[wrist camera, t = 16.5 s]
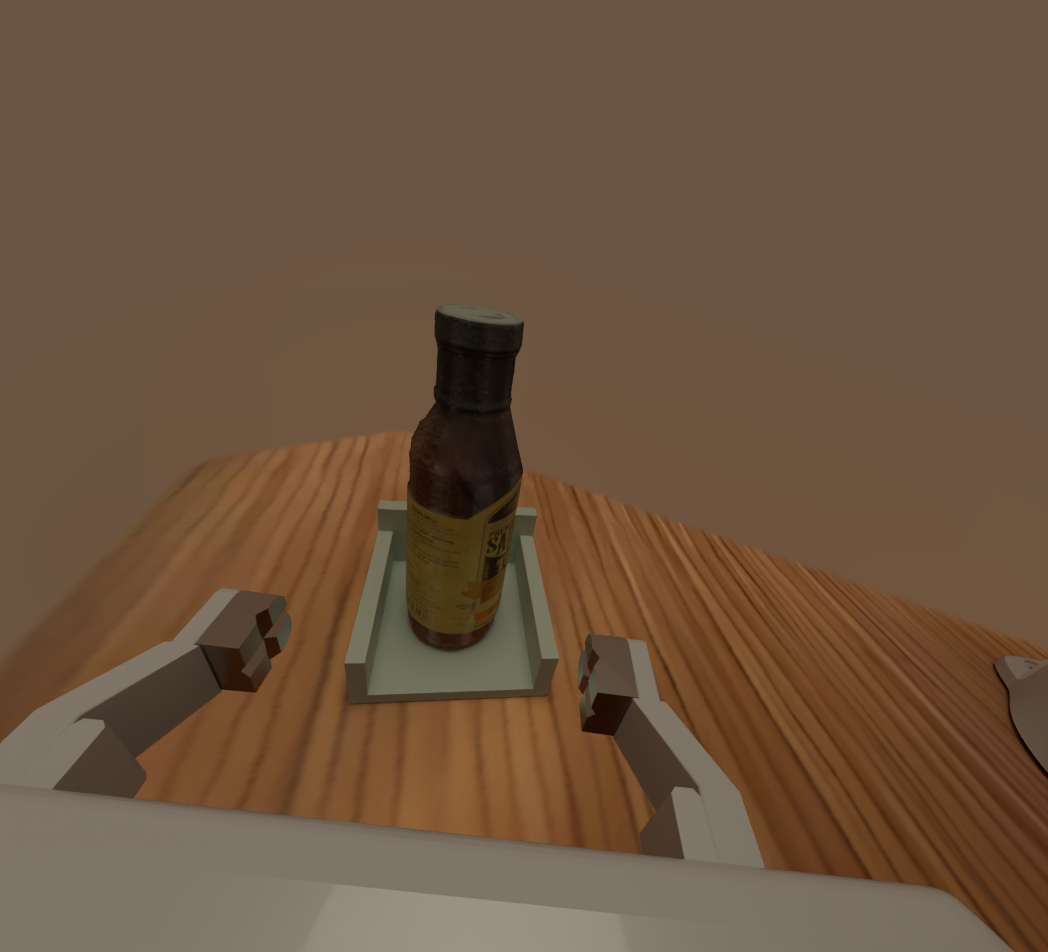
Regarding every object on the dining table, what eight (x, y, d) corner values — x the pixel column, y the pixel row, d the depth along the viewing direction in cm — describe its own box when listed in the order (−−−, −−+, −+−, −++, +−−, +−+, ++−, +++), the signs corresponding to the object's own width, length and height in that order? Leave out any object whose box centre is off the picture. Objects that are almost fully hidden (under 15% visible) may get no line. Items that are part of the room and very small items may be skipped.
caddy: (523, 562, 35) (534, 507, 32) (546, 695, 25) (566, 636, 22) (382, 559, 33) (380, 500, 30) (349, 703, 23) (341, 639, 20)
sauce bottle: (492, 660, 26) (552, 344, 15) (393, 647, 25) (386, 315, 15) (500, 582, 31) (549, 311, 21) (419, 571, 31) (427, 290, 21)
